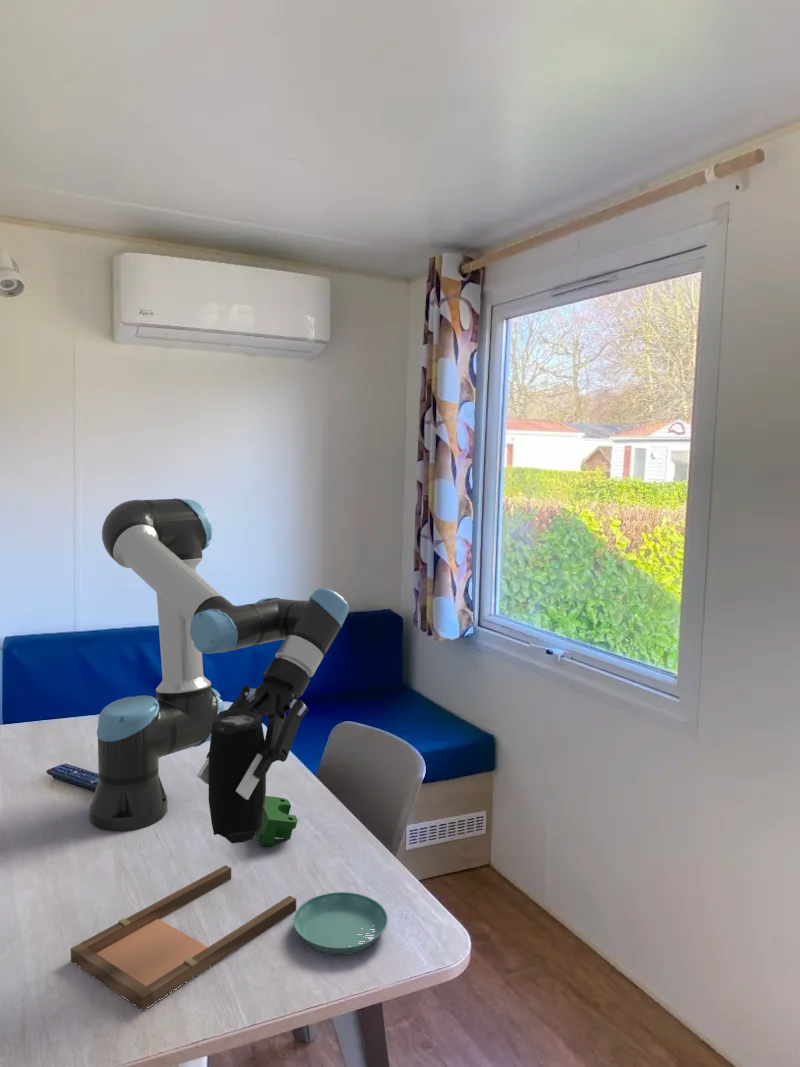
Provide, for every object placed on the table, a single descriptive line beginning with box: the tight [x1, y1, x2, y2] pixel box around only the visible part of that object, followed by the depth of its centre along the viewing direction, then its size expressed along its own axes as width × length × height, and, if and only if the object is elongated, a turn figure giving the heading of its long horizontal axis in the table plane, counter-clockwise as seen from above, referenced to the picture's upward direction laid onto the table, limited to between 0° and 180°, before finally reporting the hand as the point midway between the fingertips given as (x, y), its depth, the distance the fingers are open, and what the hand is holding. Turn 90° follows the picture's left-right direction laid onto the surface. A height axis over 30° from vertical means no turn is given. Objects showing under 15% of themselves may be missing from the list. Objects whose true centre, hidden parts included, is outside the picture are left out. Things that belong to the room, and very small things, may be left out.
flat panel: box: [96, 918, 209, 987], centre depth 115 cm, size 14×11×1 cm
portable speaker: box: [208, 708, 267, 844], centre depth 125 cm, size 9×9×20 cm
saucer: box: [293, 891, 389, 955], centre depth 121 cm, size 15×15×3 cm
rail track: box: [70, 865, 297, 1012], centre depth 120 cm, size 17×30×2 cm, turn 145°
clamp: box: [255, 795, 298, 847], centre depth 152 cm, size 12×6×9 cm, turn 13°
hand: (221, 787), depth 122 cm, fingers closed on portable speaker, 8 cm apart
